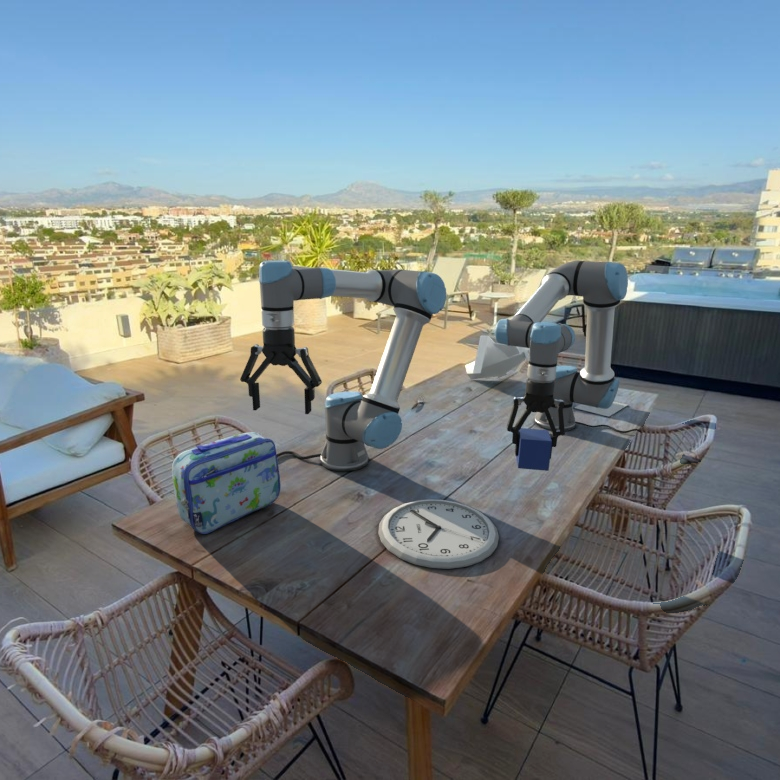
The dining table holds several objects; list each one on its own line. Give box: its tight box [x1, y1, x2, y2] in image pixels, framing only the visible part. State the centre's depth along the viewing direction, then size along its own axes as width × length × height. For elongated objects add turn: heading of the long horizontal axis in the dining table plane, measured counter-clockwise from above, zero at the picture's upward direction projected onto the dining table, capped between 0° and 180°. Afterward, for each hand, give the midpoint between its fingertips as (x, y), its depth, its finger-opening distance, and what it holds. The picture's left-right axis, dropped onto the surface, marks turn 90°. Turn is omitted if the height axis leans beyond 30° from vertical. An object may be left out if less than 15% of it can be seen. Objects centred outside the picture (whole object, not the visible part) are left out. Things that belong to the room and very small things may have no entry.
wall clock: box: [377, 498, 500, 570], centre depth 131 cm, size 30×2×30 cm
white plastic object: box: [464, 308, 530, 380], centre depth 255 cm, size 37×45×31 cm
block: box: [515, 427, 552, 472], centre depth 149 cm, size 8×9×9 cm
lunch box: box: [171, 431, 281, 535], centre depth 134 cm, size 26×11×21 cm, turn 134°
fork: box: [411, 395, 426, 410], centre depth 224 cm, size 3×16×2 cm, turn 160°
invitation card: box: [573, 400, 629, 418], centre depth 226 cm, size 21×1×15 cm
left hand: (282, 410), depth 132 cm, fingers open, 13 cm apart
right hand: (532, 455), depth 150 cm, fingers closed on block, 8 cm apart
